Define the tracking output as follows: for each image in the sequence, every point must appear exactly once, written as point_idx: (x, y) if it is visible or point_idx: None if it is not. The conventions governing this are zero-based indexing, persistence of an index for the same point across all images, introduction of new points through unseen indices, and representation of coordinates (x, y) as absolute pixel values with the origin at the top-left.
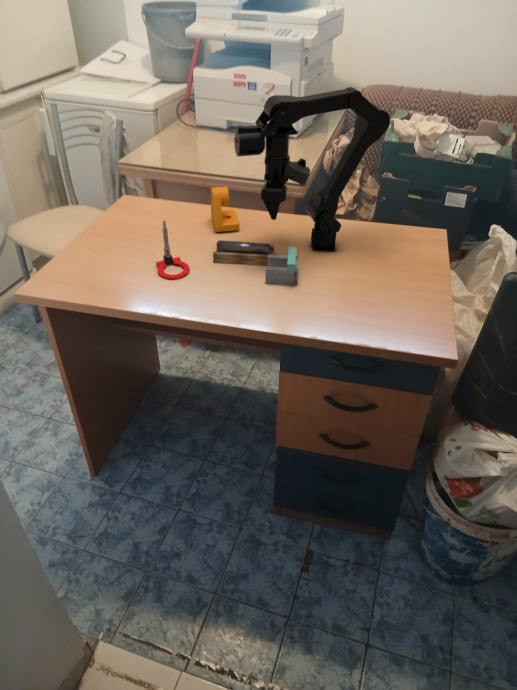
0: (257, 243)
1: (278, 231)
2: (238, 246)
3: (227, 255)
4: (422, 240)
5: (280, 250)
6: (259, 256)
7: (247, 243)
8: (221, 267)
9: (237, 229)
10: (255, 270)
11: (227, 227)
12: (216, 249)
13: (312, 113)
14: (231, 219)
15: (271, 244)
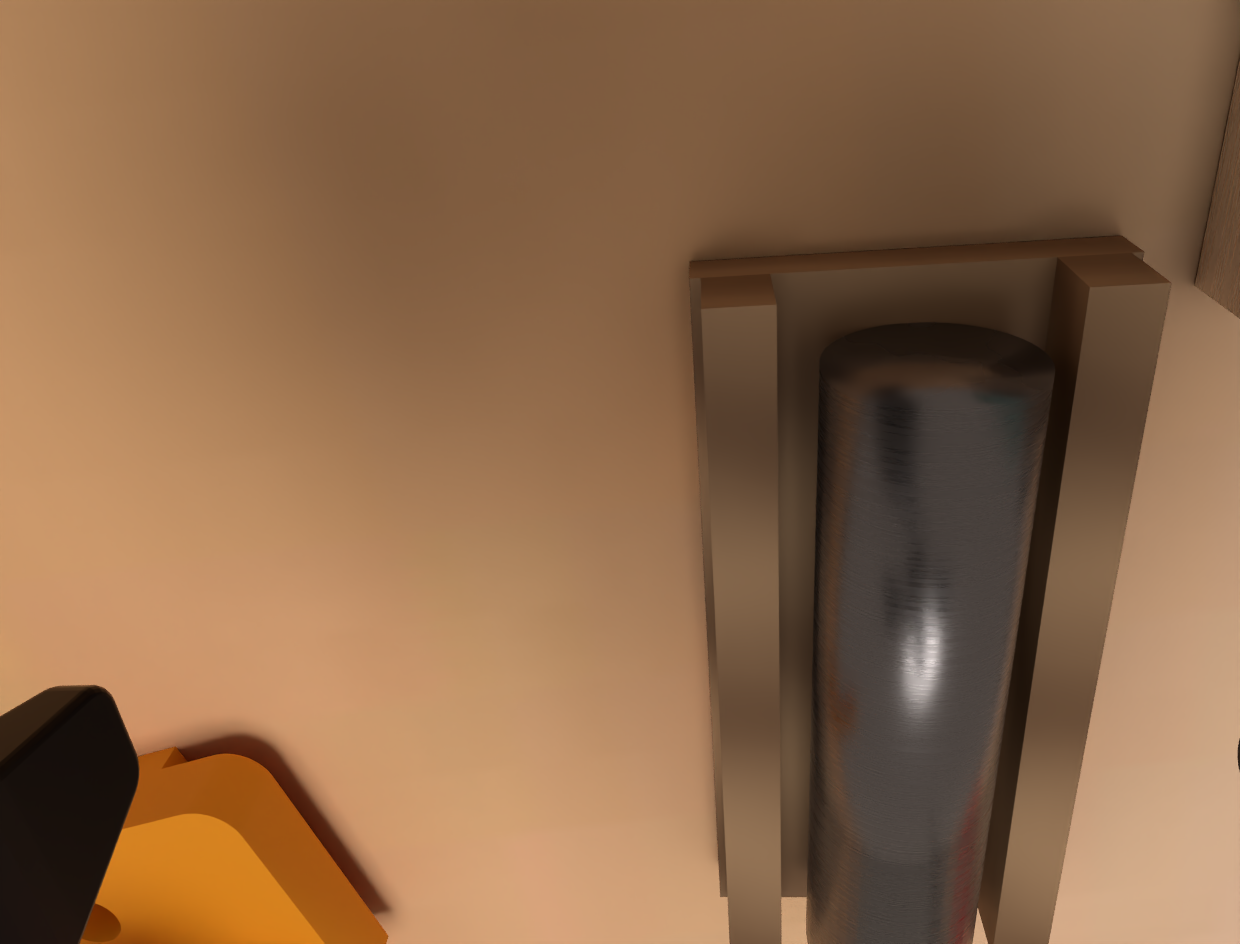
0: (948, 593)
1: (25, 275)
2: (985, 793)
3: (1063, 826)
4: None
5: (612, 165)
6: (1132, 476)
7: (951, 720)
8: (1128, 787)
9: (260, 771)
10: (1233, 439)
11: (309, 884)
12: (803, 896)
13: None
14: (138, 891)
15: (718, 348)
